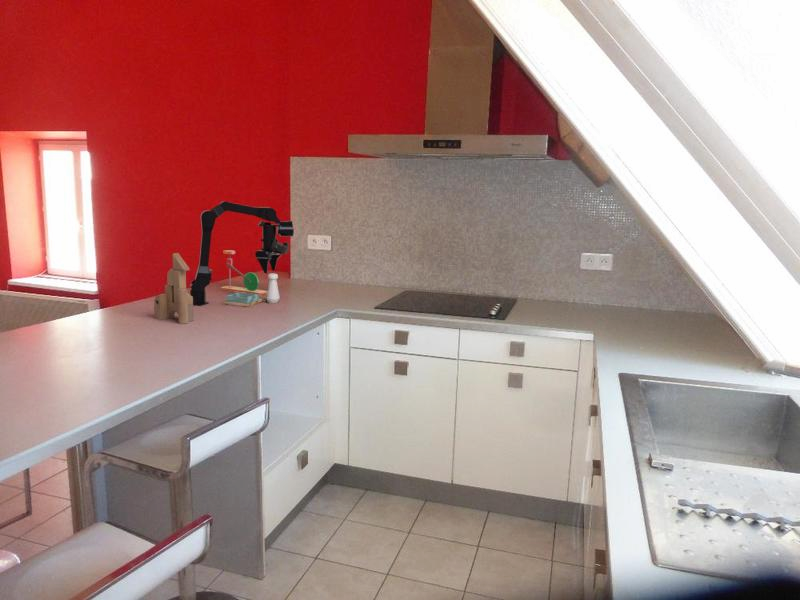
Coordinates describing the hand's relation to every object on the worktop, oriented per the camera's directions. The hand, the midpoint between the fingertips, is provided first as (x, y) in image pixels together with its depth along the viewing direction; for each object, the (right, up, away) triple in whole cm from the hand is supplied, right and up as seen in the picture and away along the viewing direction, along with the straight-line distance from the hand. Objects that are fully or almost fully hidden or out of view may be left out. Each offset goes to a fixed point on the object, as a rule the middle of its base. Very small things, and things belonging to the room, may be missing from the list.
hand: (269, 271), depth 256 cm
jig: (-10, -13, -1) cm, 17 cm away
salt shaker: (+1, -14, +1) cm, 14 cm away
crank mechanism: (-18, -9, +25) cm, 32 cm away
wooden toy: (-27, -20, -39) cm, 51 cm away
